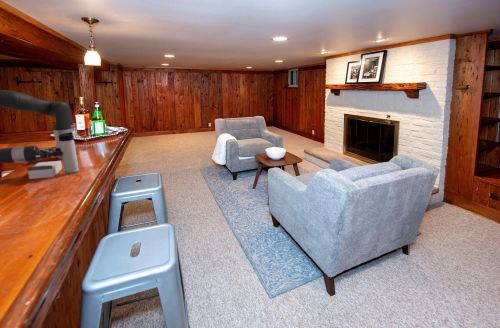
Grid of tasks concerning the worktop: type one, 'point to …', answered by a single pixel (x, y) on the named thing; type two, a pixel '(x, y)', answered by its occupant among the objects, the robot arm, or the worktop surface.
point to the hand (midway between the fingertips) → (64, 151)
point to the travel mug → (68, 153)
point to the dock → (44, 169)
